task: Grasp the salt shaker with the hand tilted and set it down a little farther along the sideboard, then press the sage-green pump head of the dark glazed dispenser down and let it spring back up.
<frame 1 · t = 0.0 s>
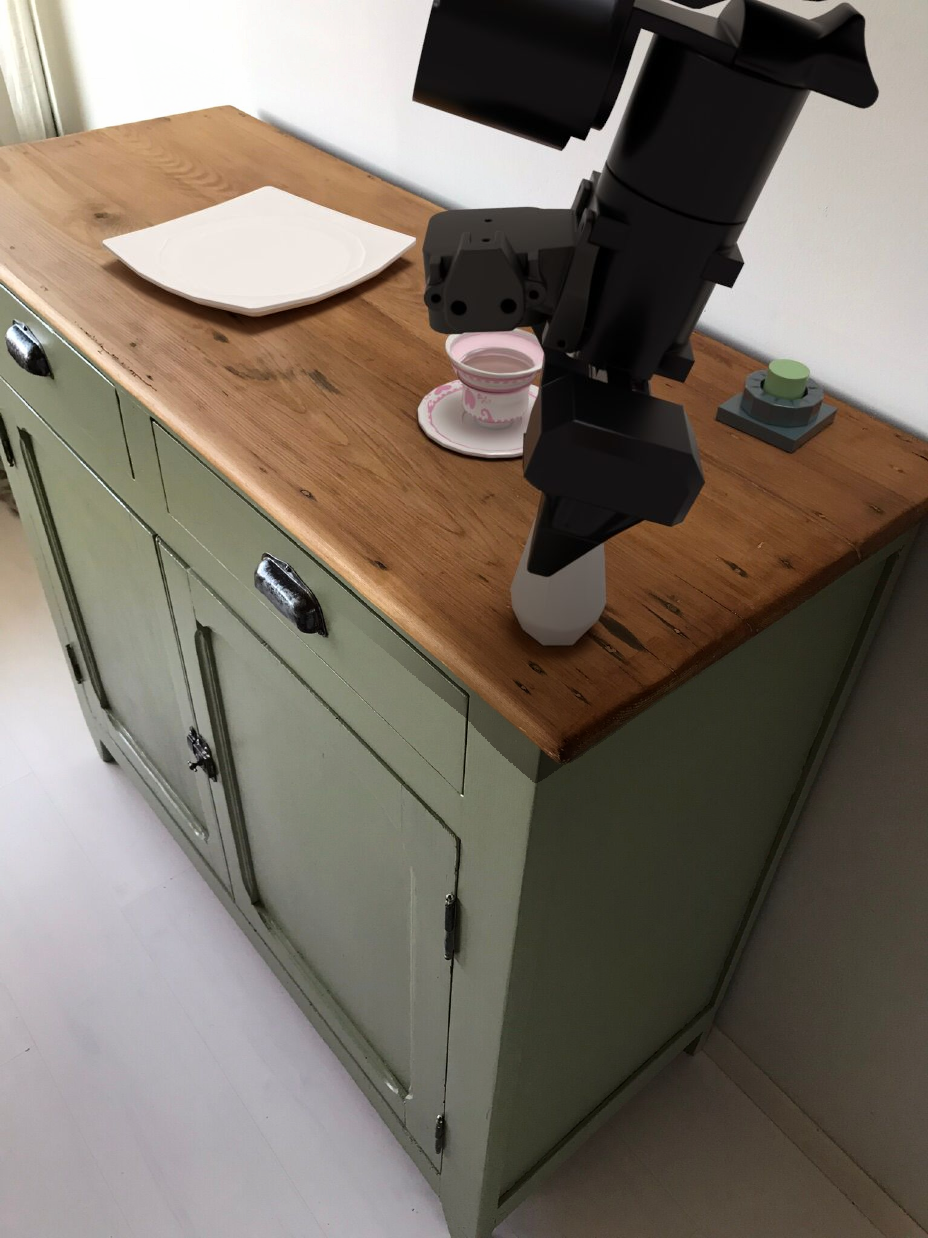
hand: (538, 511, 46), 13 cm above the sideboard, tool pointing down, fingers open, 9 cm apart
plate: (264, 268, 97), on the sideboard
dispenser: (774, 420, 78), on the sideboard
teacup: (491, 421, 77), on the sideboard
salt shaker: (553, 626, 60), on the sideboard
dispenser pump: (786, 380, 76), point 4 cm above the sideboard, slide at 0.1 cm
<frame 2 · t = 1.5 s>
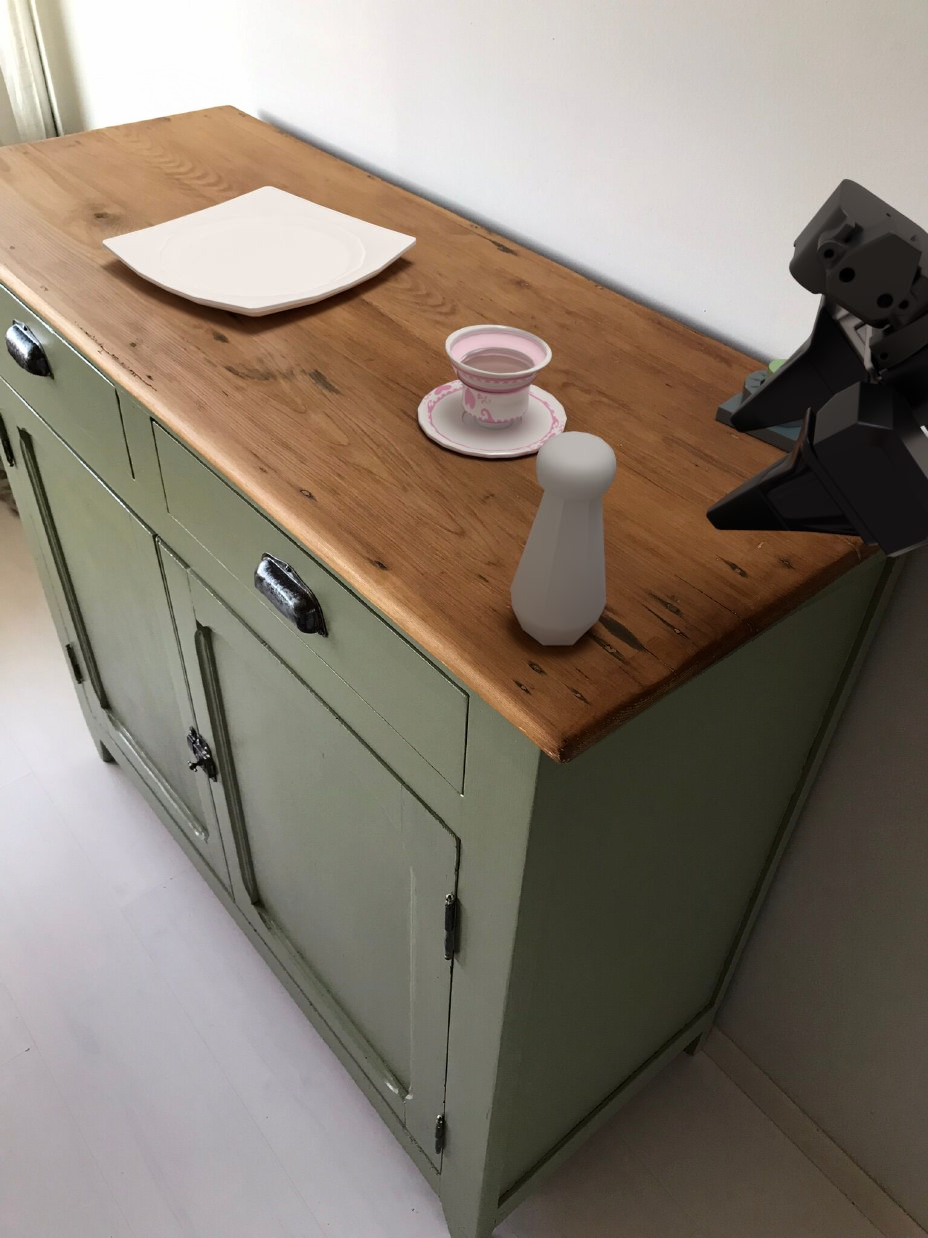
hand: (723, 469, 49), 13 cm above the sideboard, tool tilted 45°, fingers open, 9 cm apart
nothing on the sideboard moved.
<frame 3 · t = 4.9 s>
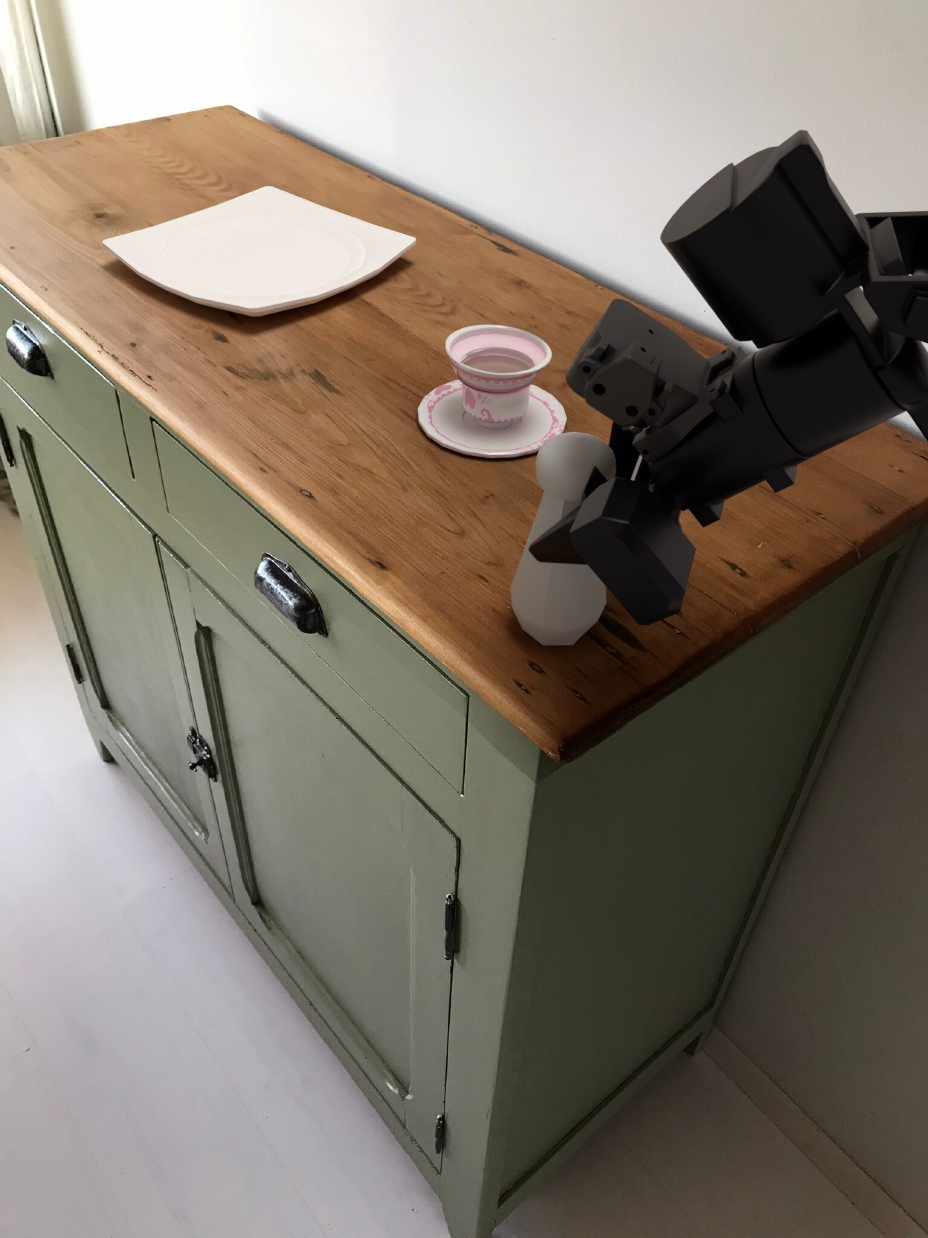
hand: (542, 535, 55), 7 cm above the sideboard, tool tilted 45°, fingers closed on salt shaker, 3 cm apart
salt shaker: (553, 626, 60), on the sideboard, touching gripper
everything else where it was.
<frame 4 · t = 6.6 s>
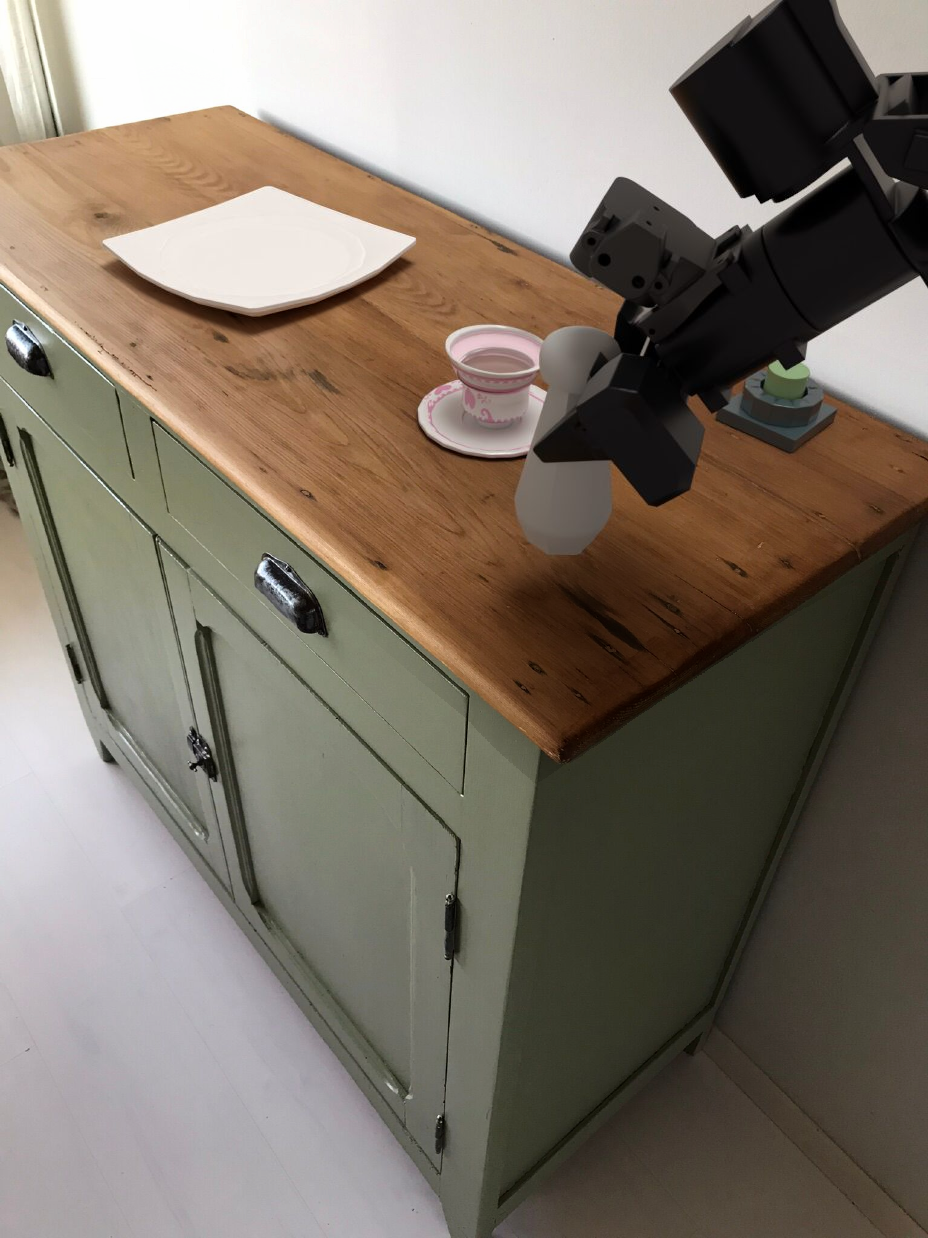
hand: (546, 438, 54), 11 cm above the sideboard, tool tilted 45°, fingers closed on salt shaker, 3 cm apart
salt shaker: (558, 538, 58), point 5 cm above the sideboard, touching gripper
everything else where it was.
when the fingers open (7 cm above the sideboard, at t = 8.5 s): salt shaker stays where it is, on the sideboard.
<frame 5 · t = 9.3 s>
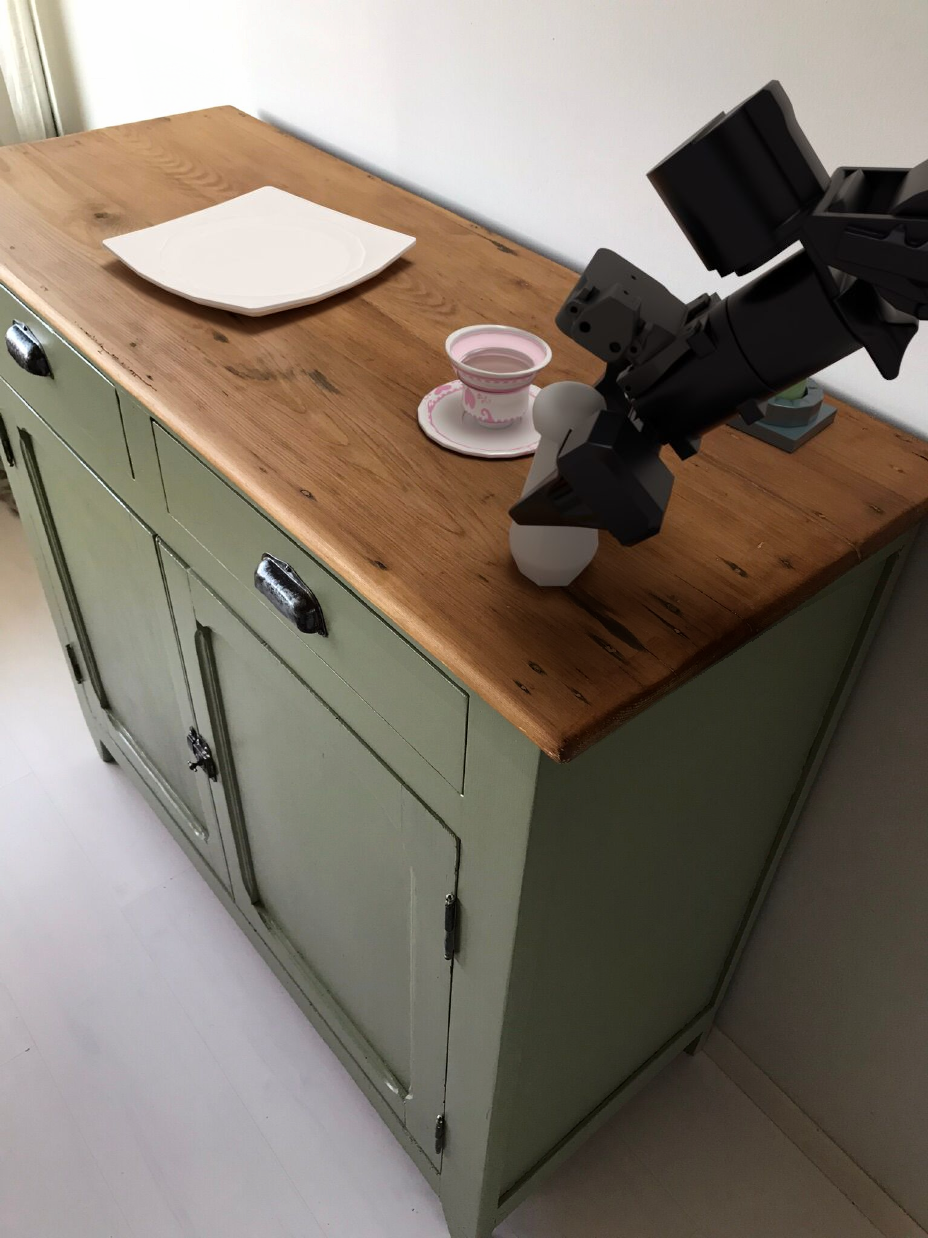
hand: (534, 476, 59), 7 cm above the sideboard, tool tilted 45°, fingers open, 9 cm apart
salt shaker: (549, 569, 64), on the sideboard
everything else where it was.
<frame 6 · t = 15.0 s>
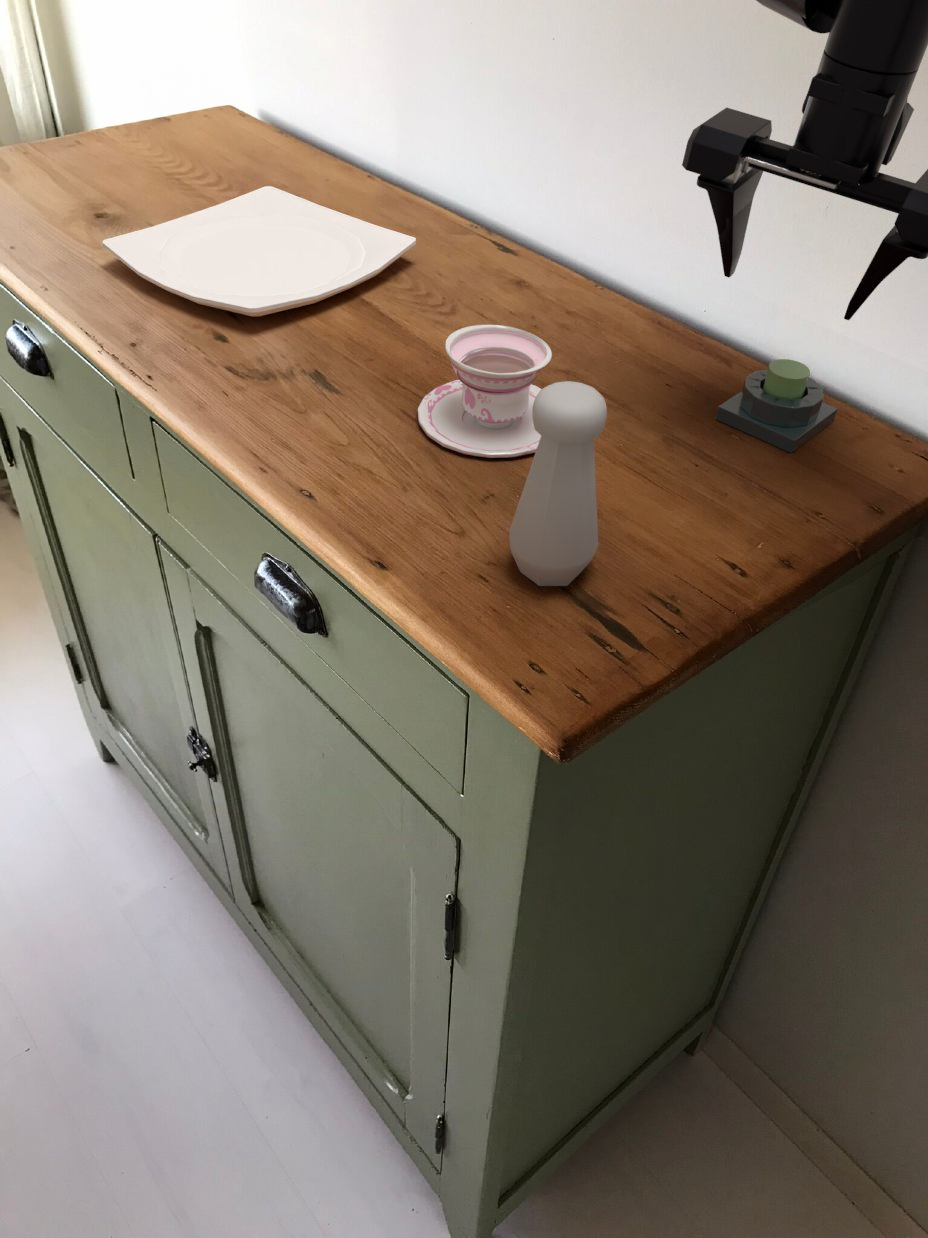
hand: (787, 295, 70), 11 cm above the sideboard, tool pointing down, fingers open, 9 cm apart
nothing on the sideboard moved.
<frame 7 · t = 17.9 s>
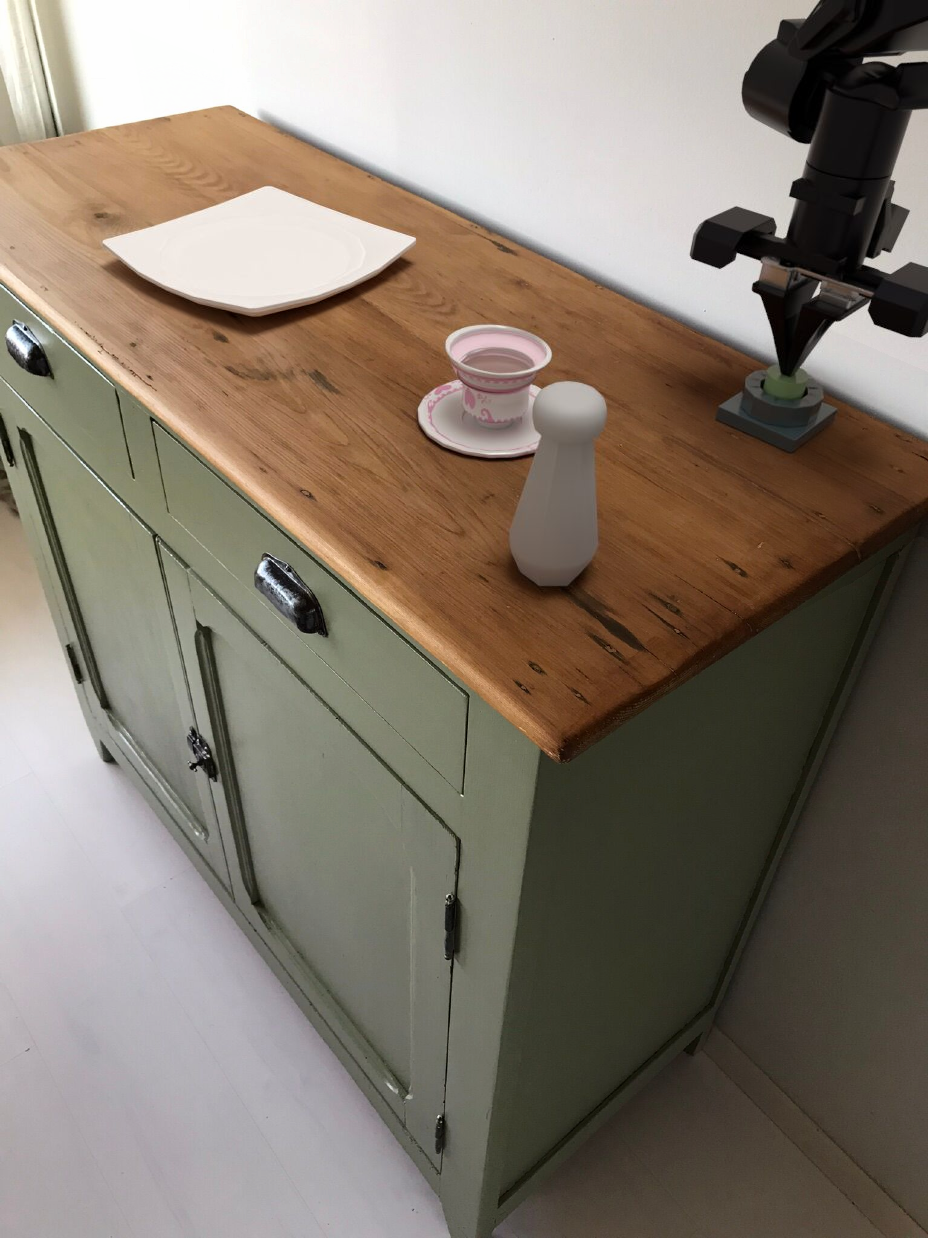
hand: (788, 373, 75), 4 cm above the sideboard, tool pointing down, fingers closed, pressing on dispenser pump
dispenser pump: (784, 384, 76), point 3 cm above the sideboard, slide at -0.3 cm, touching gripper
everything else where it was.
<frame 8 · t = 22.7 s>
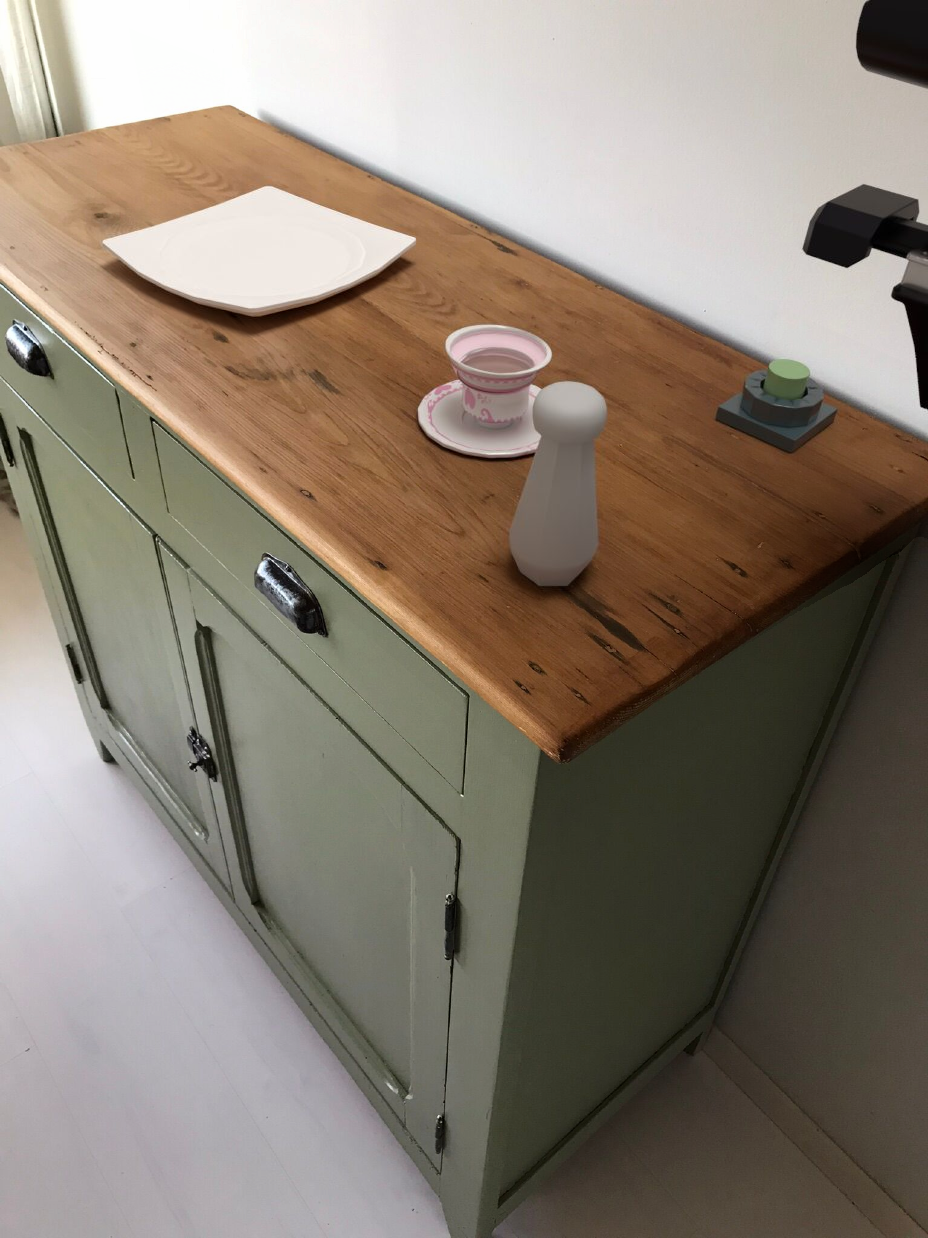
dispenser pump: (786, 380, 76), point 4 cm above the sideboard, slide at 0.1 cm
everything else where it was.
at the end: salt shaker 0.3 cm from the target spot, on the sideboard; dispenser pump pushed in 1.1 cm at the most during the clip, back to where it started at the end; dispenser pump slide at 0.1 cm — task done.
